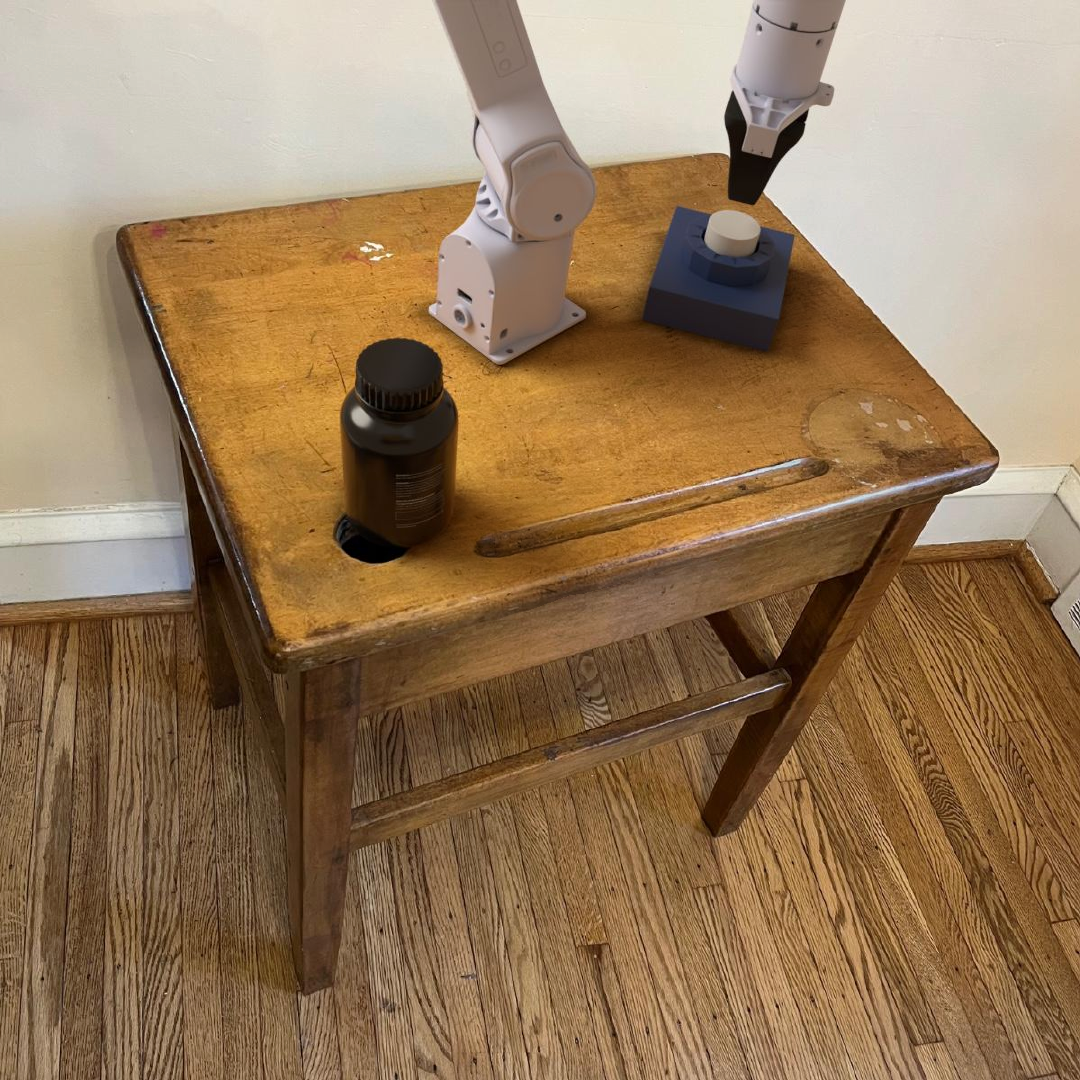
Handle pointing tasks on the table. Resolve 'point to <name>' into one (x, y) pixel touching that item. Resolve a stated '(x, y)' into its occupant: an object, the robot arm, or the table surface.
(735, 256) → the cylinder
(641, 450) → the table surface
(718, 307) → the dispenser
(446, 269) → the robot arm
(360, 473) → the supplement bottle
